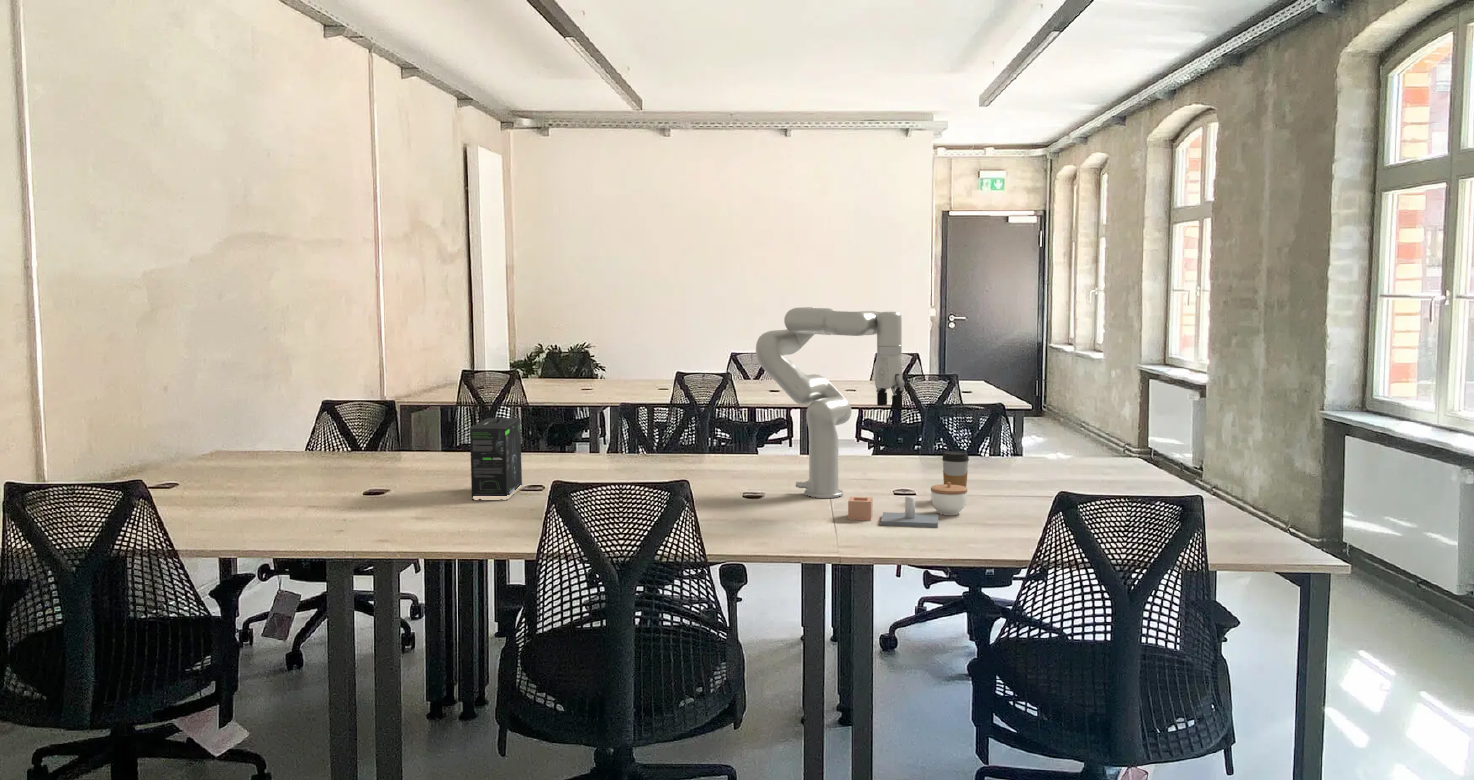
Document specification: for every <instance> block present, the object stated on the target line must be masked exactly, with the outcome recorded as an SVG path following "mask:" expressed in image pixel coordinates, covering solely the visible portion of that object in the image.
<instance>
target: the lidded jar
mask: <svg viewBox="0 0 1474 780" xmlns="http://www.w3.org/2000/svg"><path fill="white" fill-rule="evenodd" d="M967 493H968V488H967V486H966V487H964V486H960V485H951V482H947V484H944V483H943V484H935V485H932V486H931V487H930V498H931V503H932V506H933V508H934V509H935V510H936V511H937V513H938V512H939V513H940V514H939V513H938V514H939V515H942V514H944V516H955V515H956V516H957V515H960V512H962V510H963V509H964V508H965V506H966V505H967V504H966V503H967V497H968V494H967Z"/></svg>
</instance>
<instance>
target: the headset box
mask: <svg viewBox="0 0 1474 780" xmlns="http://www.w3.org/2000/svg"><path fill="white" fill-rule="evenodd" d="M521 424H522V423H521V418H520V417H512V418H510V417H509V418H507V417H504V418H503V415H501V416H499V417H488V418H485V419H483V420H481V421H480V422H478V423H476V424H474V425H472V426H471V427H470V428H469V438H470V439H469V440H470V441H469V442H470V449H469V450H470V476H471V477H470V479H471V497H472V496H507V495H510V494H511V493H512V492H513V491H514V490H516V489H517V488H518V487H519V486H520V485H522V486H523V478H522V477H523V476H522V470H523V469H522V444H521V443H522V442H521V441H522V437H521V434H522V432H521V431H522V430H521Z"/></svg>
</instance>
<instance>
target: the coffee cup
mask: <svg viewBox="0 0 1474 780" xmlns="http://www.w3.org/2000/svg"><path fill="white" fill-rule="evenodd" d="M969 458H970V457H969V456H968V452H966V451H959V450H949V451H948V450H947V451H944V452H943V455H942V459H941V460H942V468H943V469H942V472H943V473H942V474H943V475H942V476H943V484H947V482H951V485H960V486H964V487H966V488H967V485H968V484H967V482H968V474H969V471H968V470H969V469H968V467H969V461H970V459H969Z"/></svg>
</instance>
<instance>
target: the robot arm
mask: <svg viewBox="0 0 1474 780" xmlns="http://www.w3.org/2000/svg"><path fill="white" fill-rule="evenodd" d="M783 322H784V326H785V328H786V329H778V330H777V329H776V330H770V331H766V332H764V333H762V334H761V335H760V336H759V337H758V339H757V341H756V344H755V345H756V346H755V354H756V358H757V361H758V363H759V365H760V367H761V368H762V369H763V370H764V372H766V374H768V375H769V377H770V378H772V380H774V381H775V383H776V384H778V386H779V387H780V388H781V389H782V390H783V391H784V392H785V393H786V395H788V397H790V399H791V400H793V402H794V403H796V404H798V405H802V406H804V405H808V406H807V410H806V424H807V427H808V442H809V443H808V449H809V450H808V453H809V454H808V455H809V456H808V459H809V460H808V468H809V469H808V480H805V481H796V482H795V488H798V489H805V490H804V491H803V492H804V493H803V494H804V495H805V496H806V495H808V496H807V497H809V496H811V497H810V498H815V497H816V499H817V498H818V499H833V498H839V496H840V497H842V496H843V495H844V491H843V490H842V489H840V488H839V435H838V432H837V429H836V426H840V425H843V424H846V423H847V422H848V421H849V419H851V416H852V405H851V403H850V401H849V400H848V399H847V398H846V397H845V396H844V395H843V394H842V393H841V391H839V389H838V388H836V387H835V385H834V384H832V382H830V381H829V380H828V378H826V377H825V376H823V375H820V374H816V373H815V374H814V373H813V374H806V373H804V371H801V369H800V368H799V367H798V366H797V365H796V364H795V363H794V362H792V361H791V360H790V359H788V358H787V357H785V356H788V355H793V354H795V353H797V352H799V351H800V349H802V348H803V347H804V346H805V345H806V343H808V342H809V341H810V339H812V338H813V336H814V335H823V336H831V335H832V336H851V337H855V336H856V337H861V336H873V335H876V361H875V371H874V373H875V374H874V385H875V388H876V395H877V396H876V404H877V406H878V407H879V406H880V407H881V406H887V405H888V393H887V390H889V389H890V390H891V392H892V395H891V408H892V409H902V408H903V395H904V393H903V392H904V388H905V384H906V383H905V381H904V378H903V366H902V365H903V364H902V356H903V355H902V353H903V352H902V346H903V345H902V344H903V343H902V340H903V339H902V337H903V335H902V331H903V330H902V323H903V322H902V314H901V313H900V312H899V311H875V310H861V311H846V310H845V311H844V310H843V311H839V310H834V309H832V308H828V307H825V308H824V307H823V308H822V307H812V306H811V307H810V306H805V307H793V308H790V310H788V311H787V312H786V313H785V315H784V319H783Z"/></svg>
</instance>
